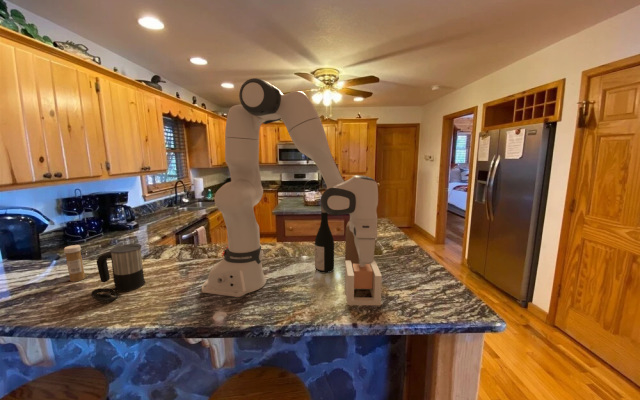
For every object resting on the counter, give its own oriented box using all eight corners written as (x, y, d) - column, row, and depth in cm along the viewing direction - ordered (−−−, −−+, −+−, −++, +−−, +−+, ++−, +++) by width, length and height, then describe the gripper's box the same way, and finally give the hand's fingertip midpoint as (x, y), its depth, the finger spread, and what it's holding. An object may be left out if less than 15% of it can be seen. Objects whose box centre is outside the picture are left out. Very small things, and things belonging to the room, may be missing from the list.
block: (353, 288, 85) (354, 271, 84) (352, 279, 91) (352, 263, 90) (372, 288, 85) (372, 271, 84) (369, 280, 91) (369, 263, 90)
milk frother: (147, 278, 102) (142, 241, 100) (143, 296, 89) (137, 255, 86) (101, 286, 95) (95, 248, 93) (88, 308, 82) (81, 264, 79)
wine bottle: (319, 275, 104) (319, 201, 99) (312, 267, 111) (311, 198, 106) (337, 271, 107) (337, 200, 102) (329, 264, 114) (329, 197, 109)
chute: (347, 304, 83) (347, 275, 81) (345, 286, 95) (345, 260, 93) (380, 305, 83) (381, 276, 81) (374, 286, 95) (375, 260, 93)
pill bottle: (87, 276, 104) (82, 243, 102) (82, 281, 100) (76, 247, 98) (73, 277, 102) (67, 245, 100) (67, 283, 98) (61, 249, 96)
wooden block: (369, 276, 103) (371, 227, 99) (344, 274, 105) (345, 226, 101) (370, 266, 112) (371, 221, 109) (347, 264, 114) (347, 220, 111)
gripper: (350, 217, 95) (349, 253, 97) (356, 234, 75) (355, 279, 77) (368, 217, 95) (366, 253, 97) (378, 234, 75) (376, 279, 77)
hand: (361, 265), depth 87 cm, fingers closed
